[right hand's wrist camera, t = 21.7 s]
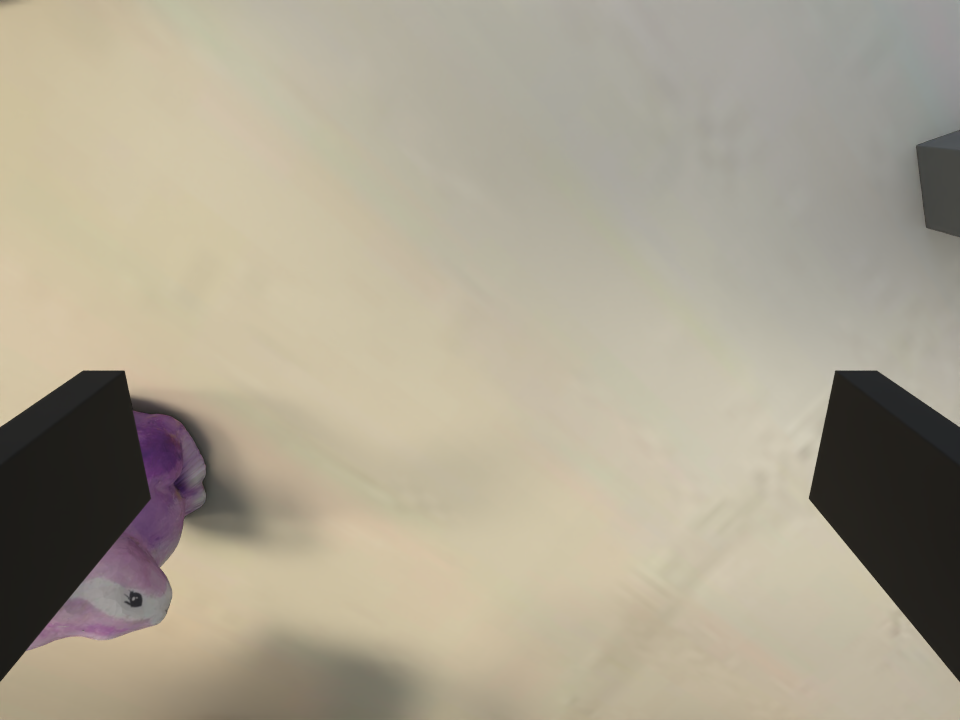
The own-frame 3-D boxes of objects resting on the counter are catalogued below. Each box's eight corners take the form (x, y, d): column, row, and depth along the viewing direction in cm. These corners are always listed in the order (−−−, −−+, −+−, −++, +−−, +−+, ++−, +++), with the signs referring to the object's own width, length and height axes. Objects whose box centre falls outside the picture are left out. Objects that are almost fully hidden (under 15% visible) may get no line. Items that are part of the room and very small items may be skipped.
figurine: (224, 533, 47) (117, 715, 33) (76, 505, 47) (-96, 679, 33) (237, 416, 44) (125, 564, 30) (79, 384, 43) (-112, 520, 29)
